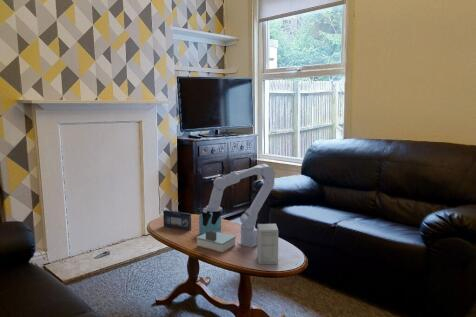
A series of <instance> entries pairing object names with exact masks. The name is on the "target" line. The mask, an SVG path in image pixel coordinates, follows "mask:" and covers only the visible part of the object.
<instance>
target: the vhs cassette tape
mask: <svg viewBox="0 0 476 317" xmlns="http://www.w3.org/2000/svg"><path fill="white" fill-rule="evenodd" d="M162 212H163V213H162V216H163V218H162V219H163V227H165V228H170V229H171V228H172V229H176V230H182V231H188V232H189V231H191V230H192V213H190V212H189V213H188V212H184V211H183V212H182V211H175V210H169V209H168V210H167V209H165V210H163V211H162Z"/></svg>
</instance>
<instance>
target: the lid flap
mask: <svg viewBox="0 0 476 317" xmlns="http://www.w3.org/2000/svg"><path fill="white" fill-rule="evenodd" d="M236 238H237V237H236V235H231V234H228V233H223V232H221V233H219V232H215V231H209V230H208V231H206V233H204V234H200V235H197V236H196V240H197V239H200V240H204V241H208V242H212V243H215V244H219V245H224V244H225V243H227V242H229V241H231V240H233V239H235V240H236Z"/></svg>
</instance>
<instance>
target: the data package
mask: <svg viewBox="0 0 476 317" xmlns="http://www.w3.org/2000/svg"><path fill="white" fill-rule="evenodd" d="M209 213H210V214H212V212H209ZM198 215H199V216H198V224H199V226H198V230H199V234H200V235H202V234H204V233H206V231H208V230H209V231H215V232H219V233H222V217H221V216H222V215H221V216H220V217H219V219H218V220H217V222H216V224H215V225H213V224H211V221H212V216H211V217H210V219H209V221H208V224H207V226H204V225H203V217H202V213H201V214H198Z"/></svg>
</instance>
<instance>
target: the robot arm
mask: <svg viewBox="0 0 476 317" xmlns="http://www.w3.org/2000/svg"><path fill="white" fill-rule="evenodd" d="M254 175H255V176H259V177H261V179H262V182H263V184H262V186H261V187H260V189H259V191H257V194H256V196H255V197H254V199H253V201H252V203H251V205H250V206H249V207H248V208H247V209H246V210H245V212H244V213H242V214H241V216H240V218H239V219H240V222H241V226H240V241H239V242H237V244H238V245H241V246H244V247H247V248H248V247H249V248H254V247H255V246H256V247H257V228H256V227H255V226H256V222H257V220H258V214H259V212H260V210H261V208H262V207H263V205H264V203H265V202H266V200H267V198H268V196H270V195H269V194H270V193H271V192H272V190H273V188H274V186H275V176H276V171H275V169H274V167H272V166H271V165H270V166H269V165H268V164H267V163H261V164H257V165H255V166H252V167H250V168H248V169H245V170H242V171H240V172H237V171H231V172H230V173H228V174H225V175H223V174H222V175H221V176H217V177H215V179H214V180H213V188H212V190H211V193H210V198H209V202H208V205H206V206H205V207H203V209H202V210H201V214H202V217H203V225H204V226H207V224H208V221H209V219H210V217H211V216H212V221H211V224H213V225H215V224H216V222H217V220H218V219H219V217H220V216H222V215H223V207H221V202H222V198H223V195H224V190H225V189H226V188H227V187H229V186H232V185H234V184H238V183H240V180H242V179H245V178H249V177H251V176H254ZM210 213H212V214H210Z"/></svg>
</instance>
